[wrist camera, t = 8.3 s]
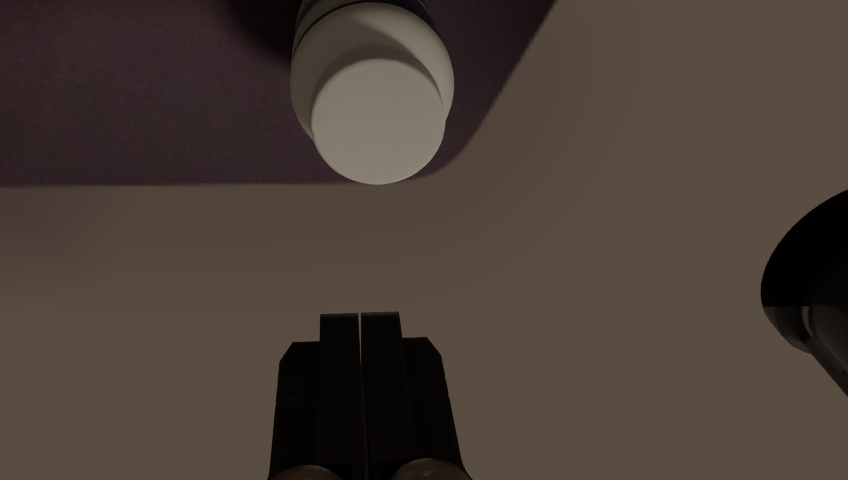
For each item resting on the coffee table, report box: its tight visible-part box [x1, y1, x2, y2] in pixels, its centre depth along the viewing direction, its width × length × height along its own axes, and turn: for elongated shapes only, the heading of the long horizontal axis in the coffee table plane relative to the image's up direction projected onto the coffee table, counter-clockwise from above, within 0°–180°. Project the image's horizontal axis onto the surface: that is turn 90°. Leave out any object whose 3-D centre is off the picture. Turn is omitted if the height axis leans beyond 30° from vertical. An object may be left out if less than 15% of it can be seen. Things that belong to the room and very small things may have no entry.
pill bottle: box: [290, 0, 454, 184], centre depth 24 cm, size 5×5×10 cm
